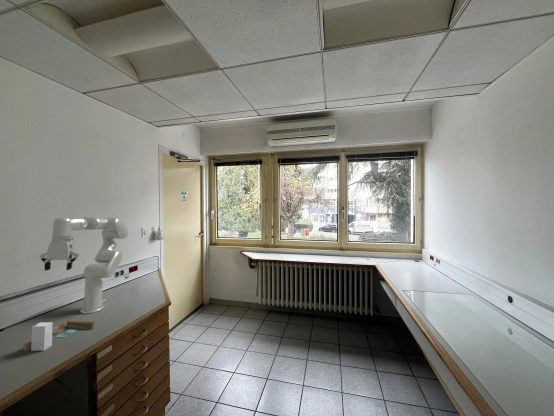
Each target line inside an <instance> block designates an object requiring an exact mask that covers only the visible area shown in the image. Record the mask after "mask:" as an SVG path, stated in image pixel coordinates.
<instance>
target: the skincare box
mask: <svg viewBox="0 0 554 416" xmlns="http://www.w3.org/2000/svg"><path fill="white" fill-rule="evenodd" d="M53 324H54V323H53V321H51V322H42V321H41V322H40V321H39V322H38V323H37V324H35V325H32V326H31V339H32V341H31V349H30V351H32V352H35V351H36V352H37V351H38V352H39V351H40V352H41V351H42V352H44V351H46V350H48V349H49V348H51V347H52V346H53V336H52V328H53Z"/></svg>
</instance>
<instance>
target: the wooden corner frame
mask: <svg viewBox="0 0 554 416" xmlns="http://www.w3.org/2000/svg"><path fill="white" fill-rule="evenodd" d="M95 324H96V322H95V321H92V320H91V321H88V320H87V321H86V320H84V321H83V320H66V321H64V322H62V323H60V324H59V325H57V326H54V327H52V337H54V336H55V338H64V339H65V338H67V337H68V336H70V335H71V334H73V333H75V332H77V331H78V330H79V329H81V330H83V329H84V330H93V329H95ZM31 341H32V338H31V339H30V340H28V341H26V342H23V348H22V351H23V352H27V351H29V350H31Z"/></svg>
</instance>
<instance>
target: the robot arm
mask: <svg viewBox="0 0 554 416" xmlns="http://www.w3.org/2000/svg"><path fill="white" fill-rule="evenodd" d="M52 224H53V225H52V235H51V241H50V242H49V245H48V247H47V252H44V253H41V254H40V255H39V258H40V259H41V261H42V262H43V263H44V271H49V270H51V265H52V263H51V262H52V261H63V260H65V261H66V262H67V263H66V268H65V269H66V271H70V270H71V269H72V268H73V263H74V262H75V261H76V260H78V259H77V258H79V254H78V253H76V252H74V244H73V241H72V240H74V237H72V231H81V230H82V231H83V230H88V231H89V230H92V231H93V230H102V231H101V237H102V242H103V243H102V245H101V247H100V248H99V250H98V252H97V253H96V255H95V258H94V261H95V263H90V264H88V265H87V266H85V267H84V270H83V276H84V294H83V295H84V296H83V307H82V308H81V309H80V311H79V312H80V314H85V315H86V314H93V313H97V312H99V311H103V309H104V308H105V305H104V303H105V302H107V298H103V292H104V291H103V288H104V281H103V279H109V278H110V279H111V278H112V277H113V276H114V275H115V273H116V271H117V269H118V268H119V266H120V264H121V262H122V258H123V253H122V252H121V251H120V250H116V248H117V243H116V241H115V240H116V239H117V240H118V239H119V240H122V239H123V240H124V239H126V238H127V237H128V236H129V235H128V234H129V231H128V228H127V226H126V225H125V224H124V222H123V221H122V220H121V219H120V218H118V217H110V216H109V217H104V216H102V217H101V216H84V217H82V216H81V217H71V216H70V217H64V216H63V217H56V218H54V219H53V223H52Z"/></svg>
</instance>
